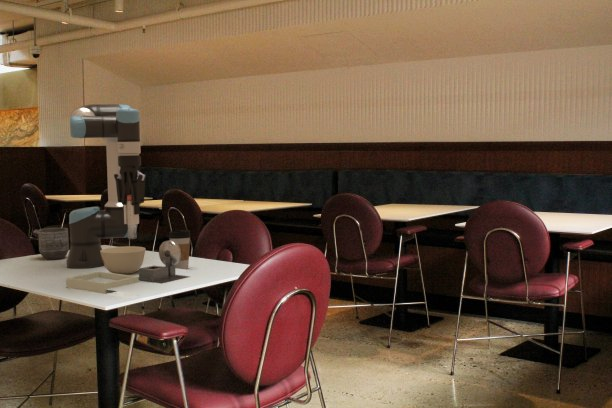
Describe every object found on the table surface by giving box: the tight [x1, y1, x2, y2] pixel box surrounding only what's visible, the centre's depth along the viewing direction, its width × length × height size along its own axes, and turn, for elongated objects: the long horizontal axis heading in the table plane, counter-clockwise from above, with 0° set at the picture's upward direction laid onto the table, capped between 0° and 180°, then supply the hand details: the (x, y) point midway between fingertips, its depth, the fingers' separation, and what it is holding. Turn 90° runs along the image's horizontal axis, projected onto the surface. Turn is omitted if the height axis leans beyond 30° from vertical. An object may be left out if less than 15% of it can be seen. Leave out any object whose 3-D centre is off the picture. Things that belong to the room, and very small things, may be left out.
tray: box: [65, 271, 139, 295], centre depth 231 cm, size 20×14×3 cm
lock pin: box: [127, 194, 137, 240], centre depth 232 cm, size 3×3×15 cm
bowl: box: [100, 245, 146, 275], centre depth 250 cm, size 16×16×10 cm
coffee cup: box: [168, 229, 192, 270], centre depth 264 cm, size 8×8×15 cm
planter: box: [37, 227, 70, 261], centre depth 296 cm, size 12×12×13 cm
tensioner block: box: [137, 239, 190, 285], centre depth 238 cm, size 16×14×14 cm
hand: (131, 223), depth 233 cm, fingers closed on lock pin, 3 cm apart
